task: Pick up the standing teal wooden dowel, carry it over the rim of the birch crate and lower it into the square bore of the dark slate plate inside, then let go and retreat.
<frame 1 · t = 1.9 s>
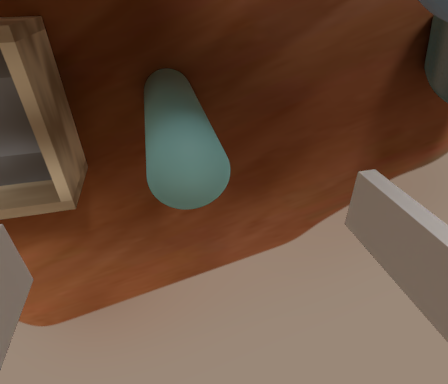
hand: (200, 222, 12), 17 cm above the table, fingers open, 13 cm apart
peg: (168, 93, 26), on the table
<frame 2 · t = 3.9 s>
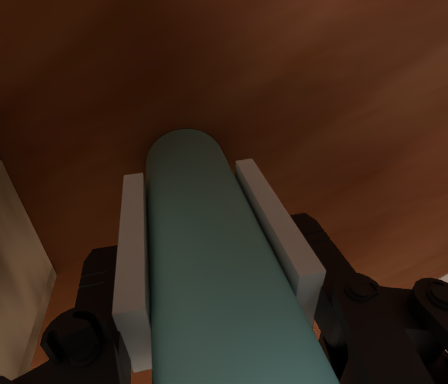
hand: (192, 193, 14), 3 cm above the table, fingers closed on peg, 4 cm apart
peg: (185, 165, 16), on the table, touching gripper
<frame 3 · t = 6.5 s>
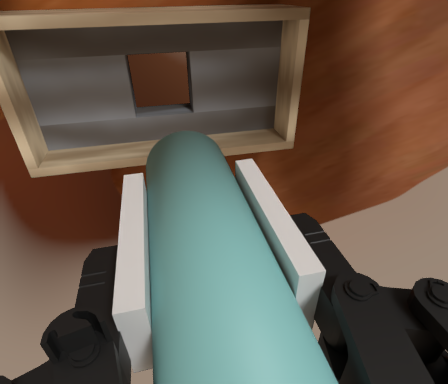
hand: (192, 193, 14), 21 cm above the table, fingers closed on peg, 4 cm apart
peg: (186, 167, 16), point 18 cm above the table, touching gripper
crate: (160, 77, 30), on the table
when the fingers open (4 cm above the table, at t = 9.3 s): peg stays where it is, resting in crate.
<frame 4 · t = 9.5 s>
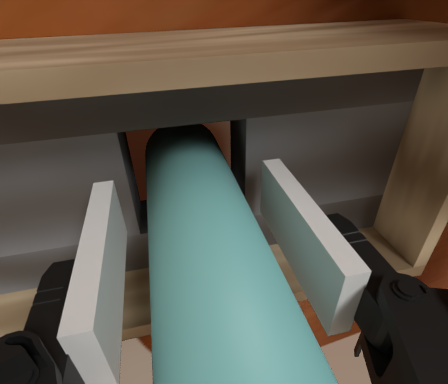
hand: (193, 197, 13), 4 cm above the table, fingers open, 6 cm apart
peg: (182, 154, 17), resting in crate
crate: (182, 153, 17), on the table
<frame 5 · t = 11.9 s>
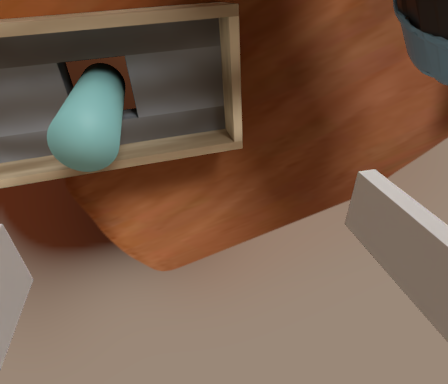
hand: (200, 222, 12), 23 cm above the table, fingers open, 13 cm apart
peg: (103, 85, 30), resting in crate
crate: (103, 84, 30), on the table
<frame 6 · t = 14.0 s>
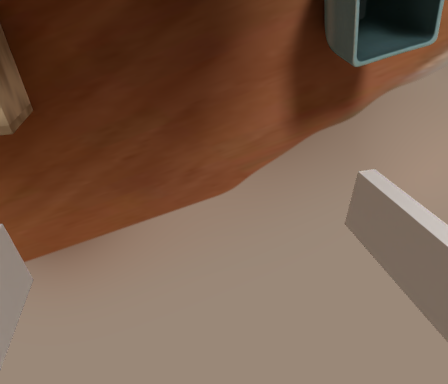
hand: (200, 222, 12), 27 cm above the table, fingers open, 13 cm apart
flower pot: (344, 0, 34), on the table
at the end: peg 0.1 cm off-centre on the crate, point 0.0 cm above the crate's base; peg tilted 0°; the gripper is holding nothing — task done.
